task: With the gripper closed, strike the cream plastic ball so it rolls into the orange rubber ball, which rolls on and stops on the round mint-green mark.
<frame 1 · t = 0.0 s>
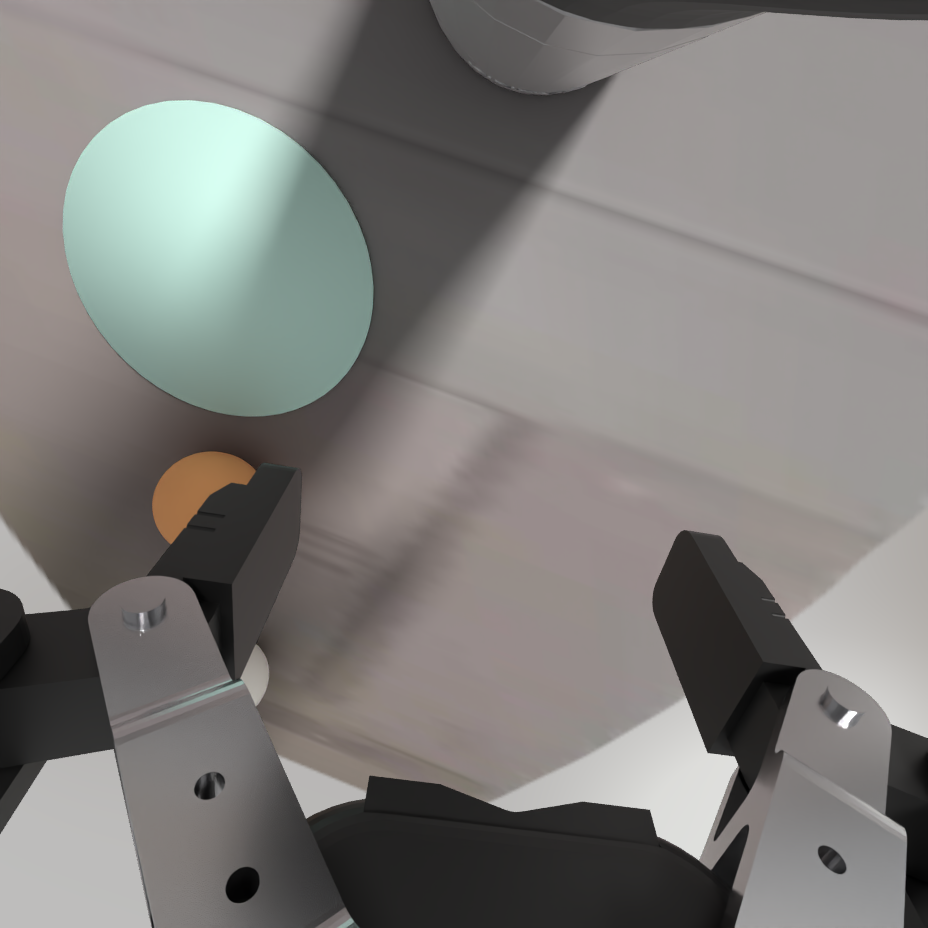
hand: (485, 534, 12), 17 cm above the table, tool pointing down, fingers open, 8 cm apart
orange ball: (212, 504, 29), on the table
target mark: (223, 279, 26), on the table
cue ball: (224, 678, 37), on the table
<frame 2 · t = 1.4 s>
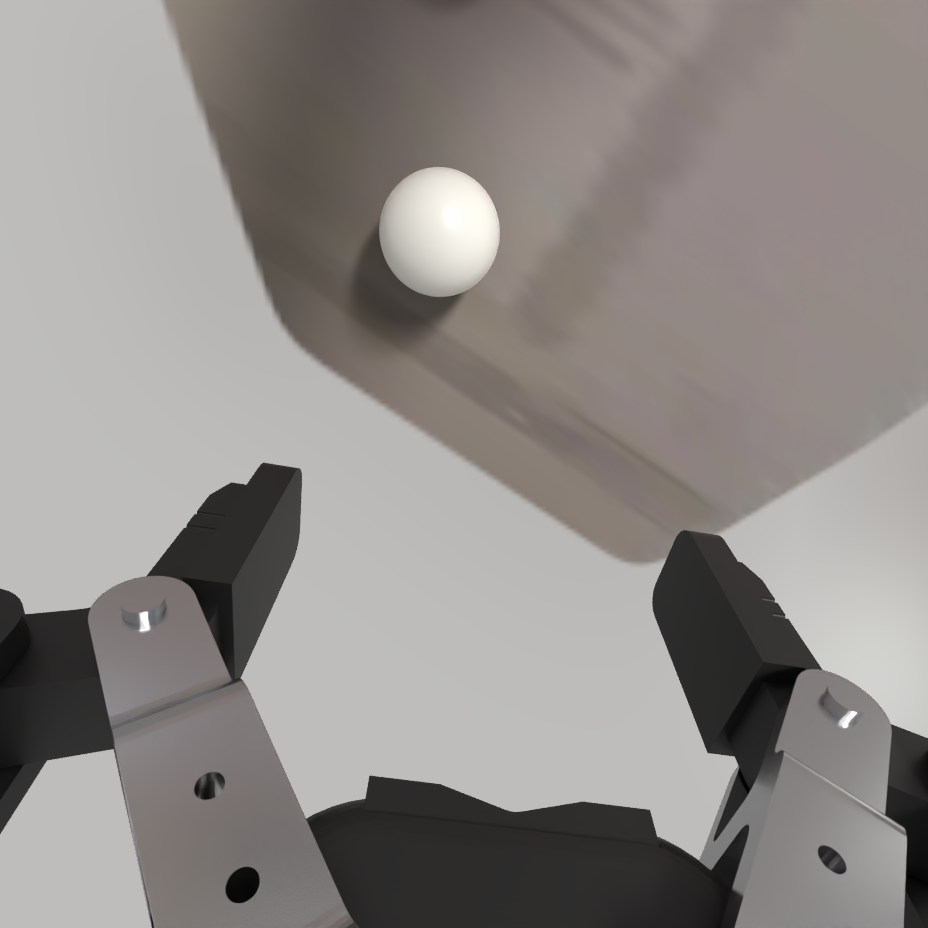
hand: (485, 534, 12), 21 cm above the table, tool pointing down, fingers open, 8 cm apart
cue ball: (439, 234, 26), on the table
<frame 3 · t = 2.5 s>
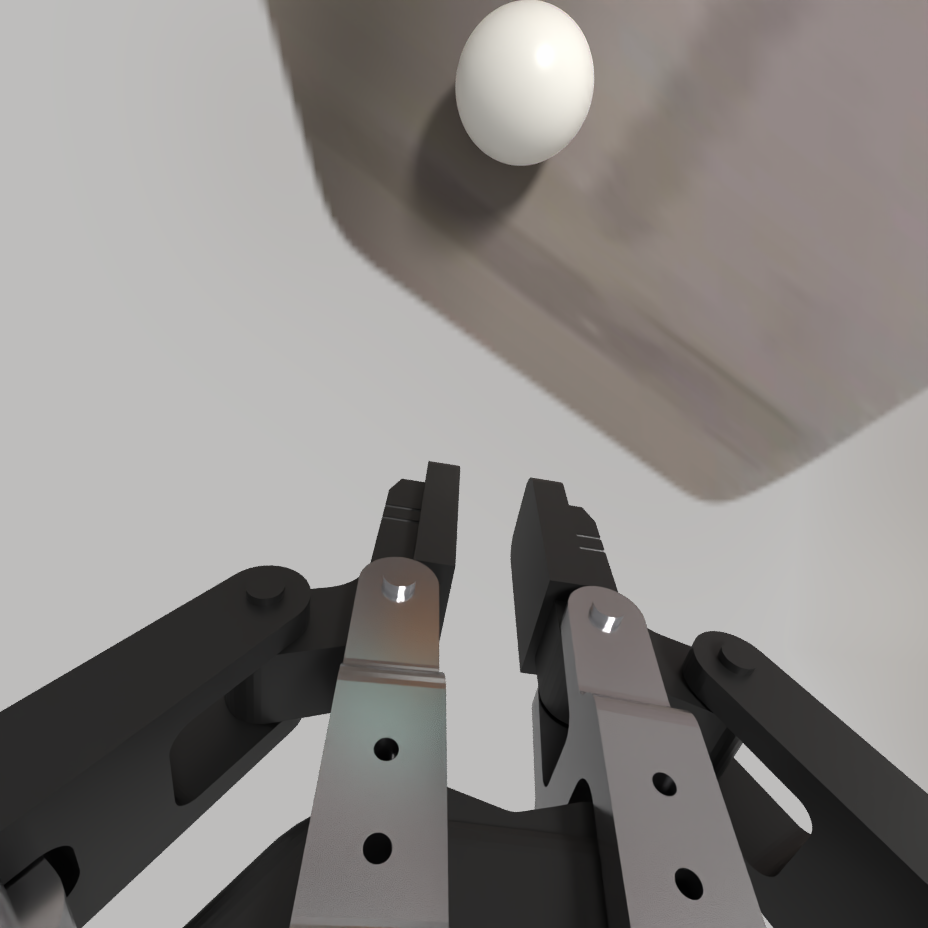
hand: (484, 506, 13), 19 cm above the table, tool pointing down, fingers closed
cue ball: (523, 88, 23), on the table
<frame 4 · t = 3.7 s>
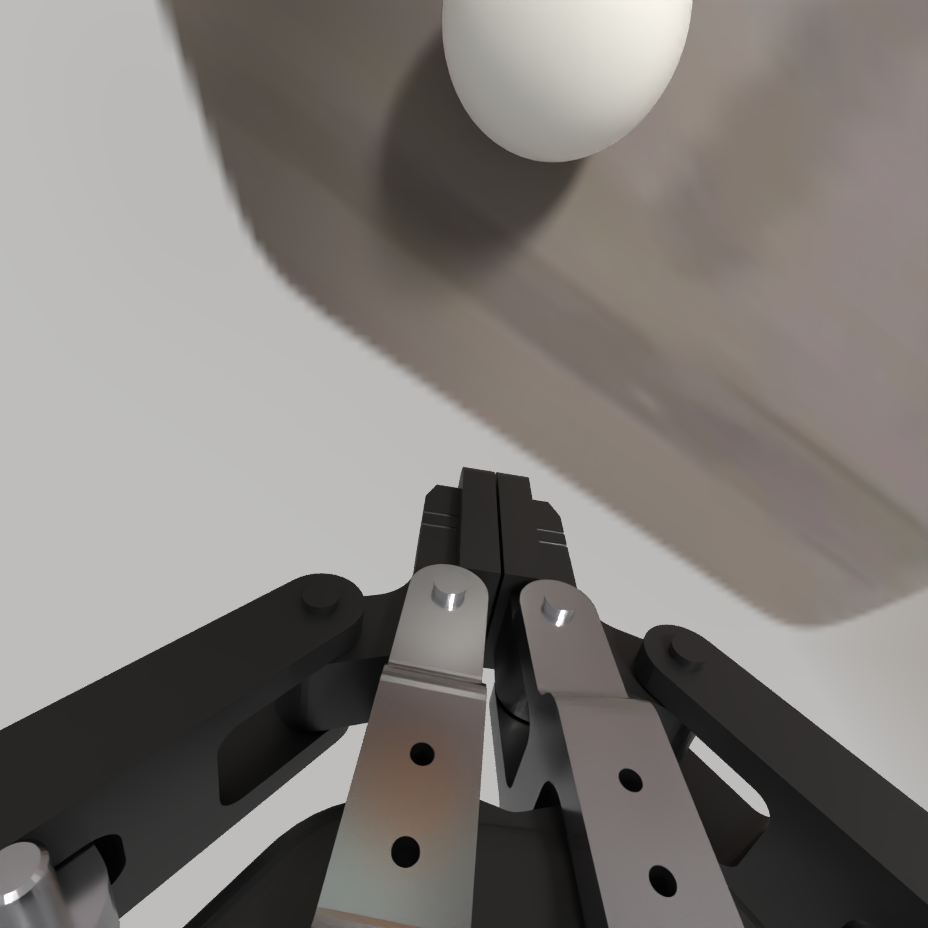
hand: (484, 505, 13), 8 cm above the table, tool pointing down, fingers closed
cue ball: (562, 25, 13), on the table
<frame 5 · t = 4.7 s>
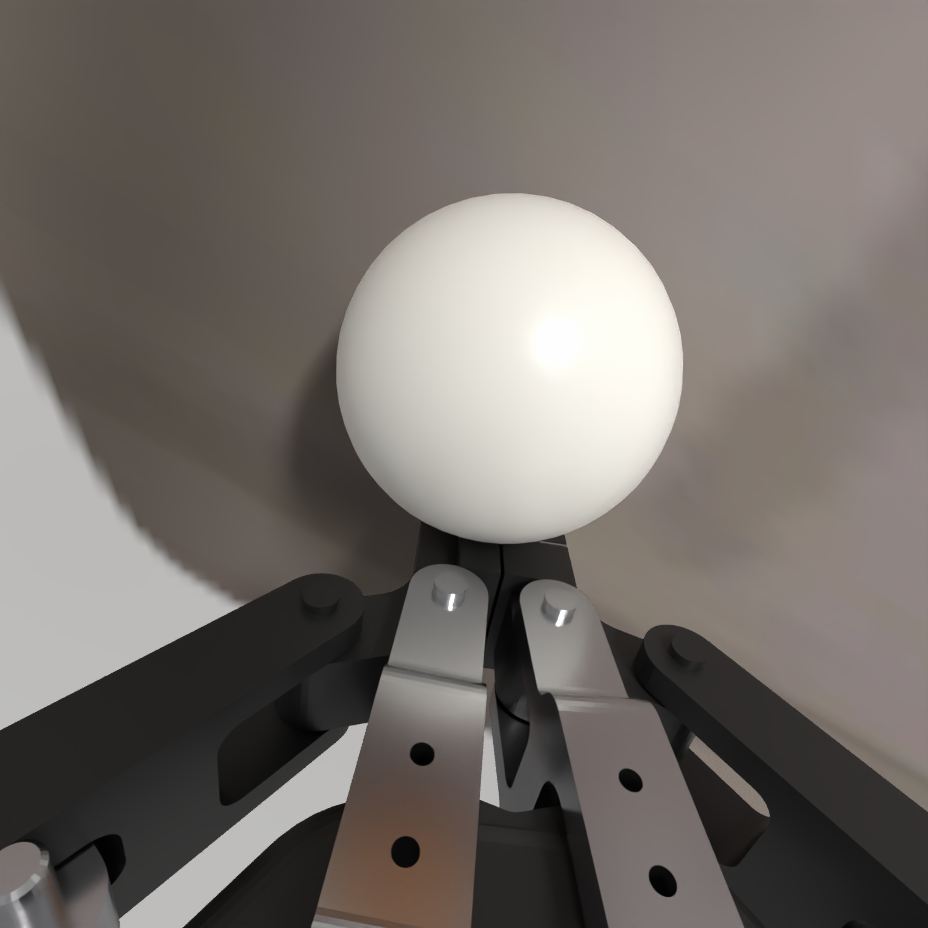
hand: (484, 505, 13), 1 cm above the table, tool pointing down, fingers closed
cue ball: (505, 376, 9), on the table, touching gripper
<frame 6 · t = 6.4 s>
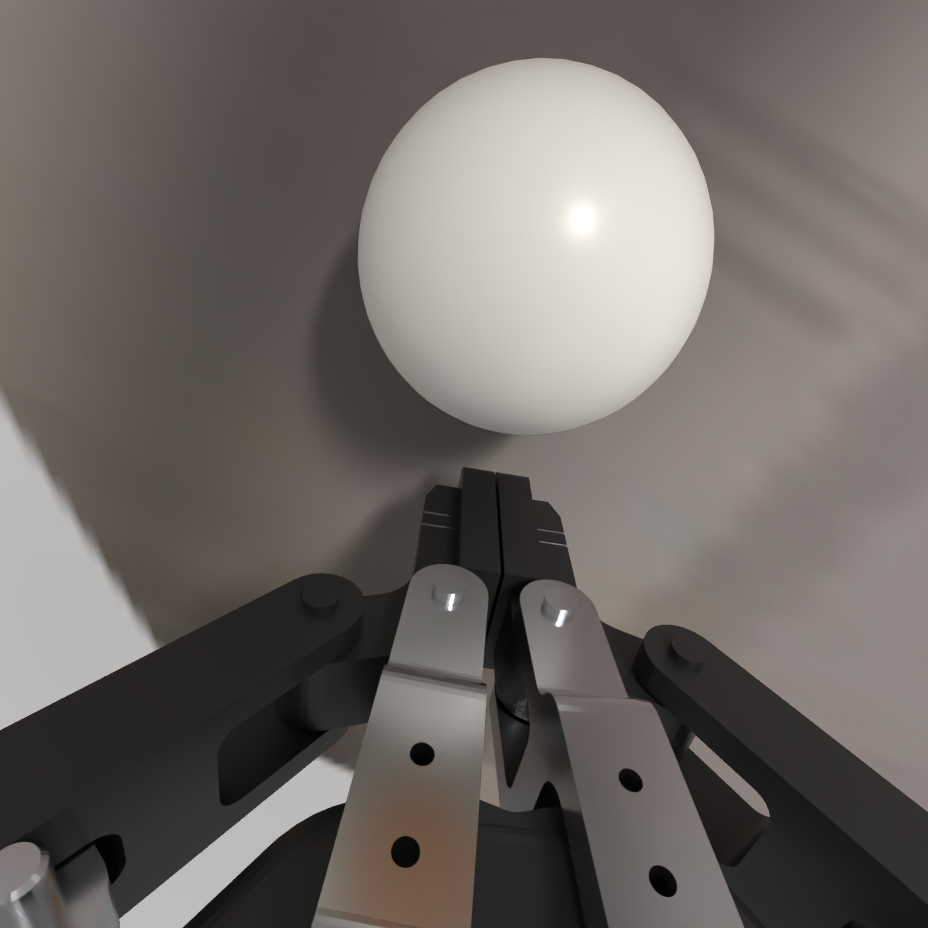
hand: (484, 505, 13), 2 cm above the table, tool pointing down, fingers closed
cue ball: (529, 265, 9), on the table
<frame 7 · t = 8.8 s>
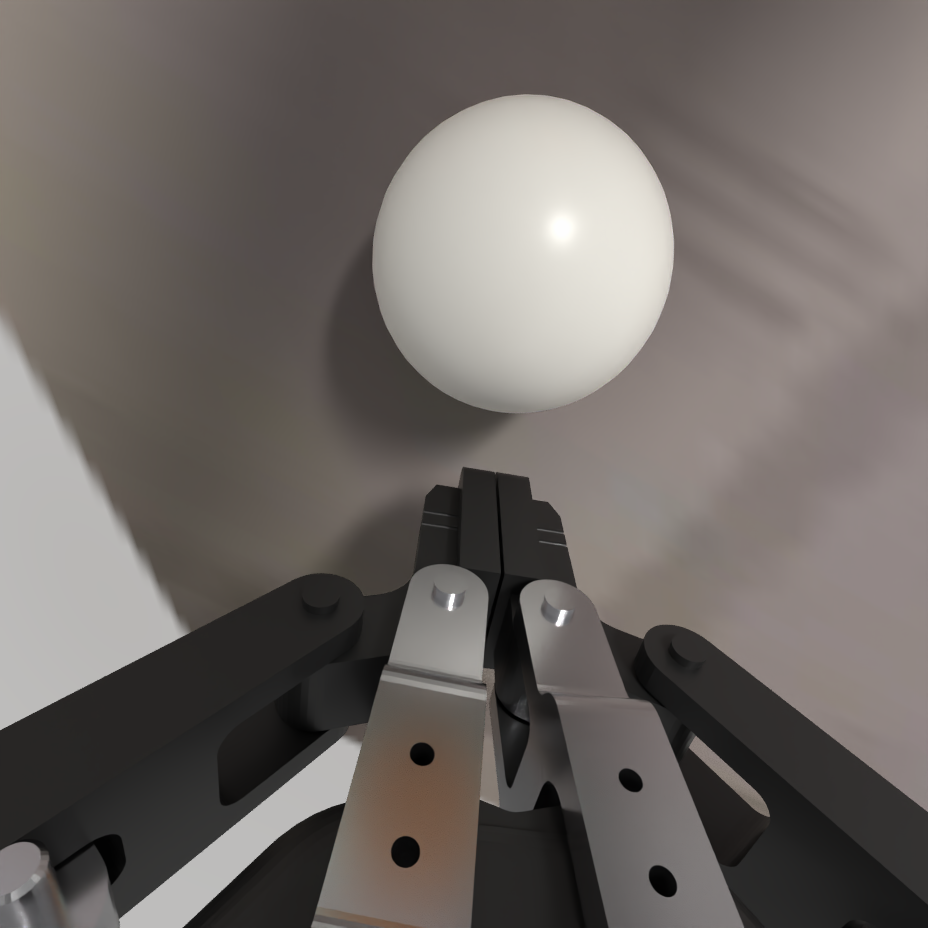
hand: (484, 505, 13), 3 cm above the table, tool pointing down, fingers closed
cue ball: (519, 267, 11), on the table
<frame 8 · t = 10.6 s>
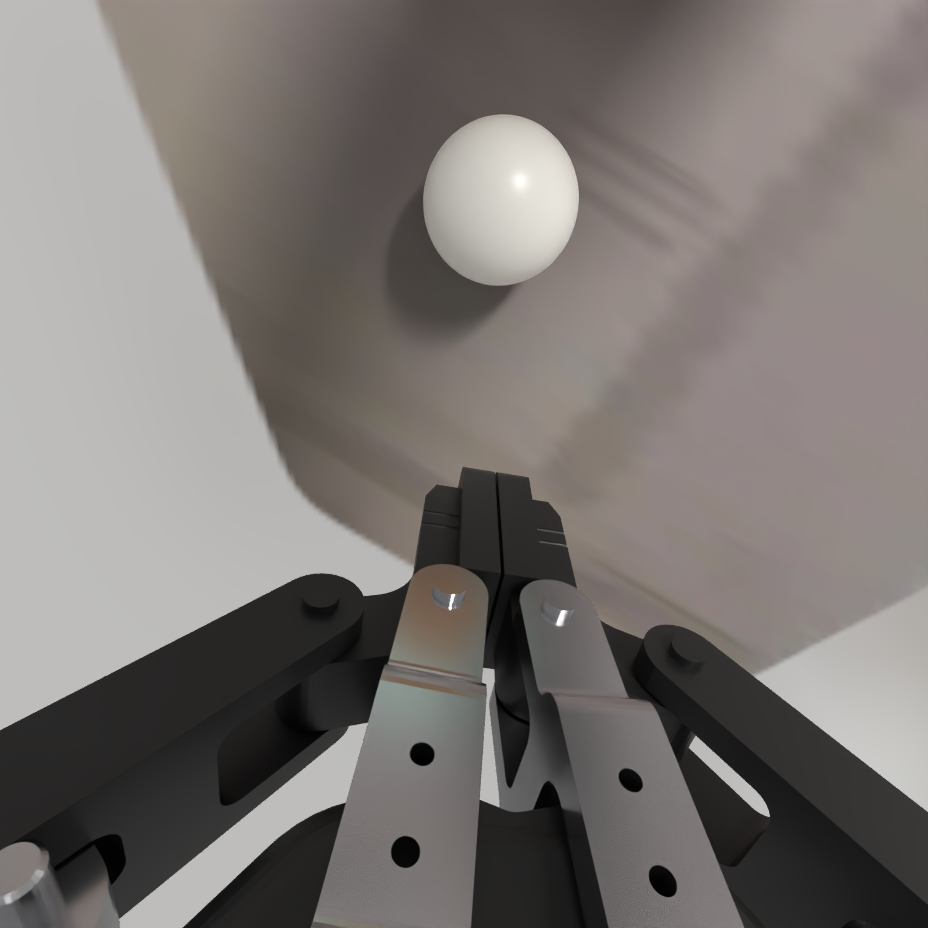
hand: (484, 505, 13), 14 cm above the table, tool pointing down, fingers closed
cue ball: (500, 204, 20), on the table
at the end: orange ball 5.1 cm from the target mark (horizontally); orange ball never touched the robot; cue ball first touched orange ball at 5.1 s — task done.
